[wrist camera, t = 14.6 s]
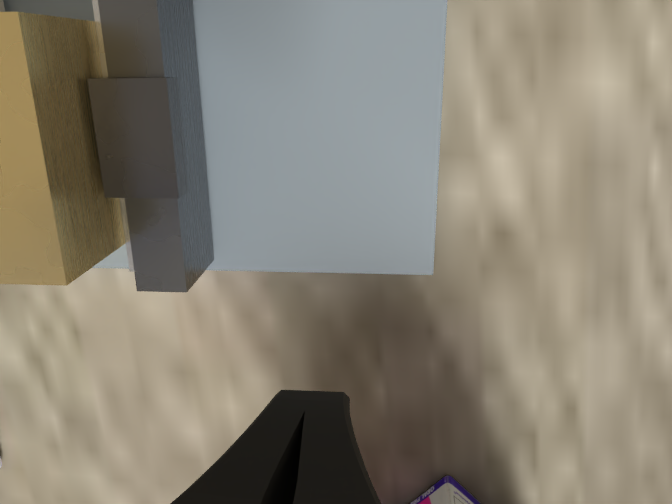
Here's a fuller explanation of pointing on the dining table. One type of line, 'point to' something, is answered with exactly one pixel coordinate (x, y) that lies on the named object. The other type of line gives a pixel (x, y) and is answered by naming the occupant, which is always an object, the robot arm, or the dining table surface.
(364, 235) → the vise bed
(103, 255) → the brass block
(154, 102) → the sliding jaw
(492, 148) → the dining table surface
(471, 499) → the supplement box
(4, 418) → the dining table surface
